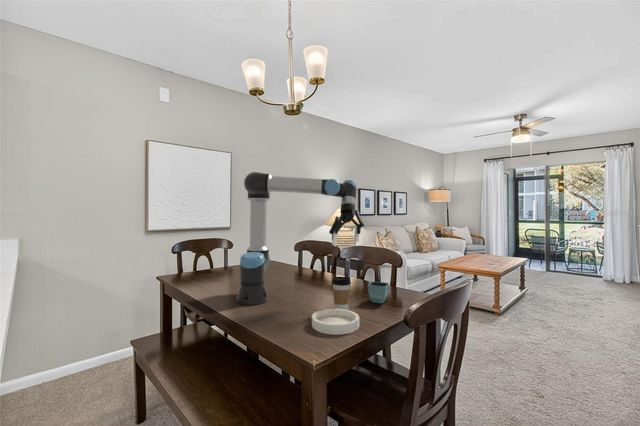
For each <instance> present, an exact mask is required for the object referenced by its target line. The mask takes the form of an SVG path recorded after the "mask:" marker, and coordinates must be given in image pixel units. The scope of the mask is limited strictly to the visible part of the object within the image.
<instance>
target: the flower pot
mask: <svg viewBox="0 0 640 426" xmlns="http://www.w3.org/2000/svg"><path fill="white" fill-rule="evenodd" d="M389 289H390V283H389V282H382V281H371V282H369V283H368V284H367V291H368V296H369V297H368V298H369V299H370V300H371V303H374V304H375V303H376V304H380V305H381V304H383V303H385V301H386V300H387V298H388V295H389Z"/></svg>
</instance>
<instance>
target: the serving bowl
mask: <svg viewBox="0 0 640 426" xmlns="http://www.w3.org/2000/svg"><path fill="white" fill-rule="evenodd" d="M360 319H361V318H360V316H359V314H358V313H356V312H354V311H352V310H349V309H348V310H345V309H335V308H325V309H321V310H318V311H315V312H314V313H313V314H311V327H312V329H314V330H315V331H316V332H319V333H322V334H324V335H325V334H326V335H332V336H333V335H336V336H338V335H347V334H352V333H354V332H356V331H358V330H359V328H360Z"/></svg>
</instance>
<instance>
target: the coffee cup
mask: <svg viewBox="0 0 640 426" xmlns="http://www.w3.org/2000/svg"><path fill="white" fill-rule="evenodd" d="M331 284H332V293H333V304H334V309H345V310H349V302H350V294H351V293H350V292H351V284H352V283H351V277H349V276H334V277H332V281H331Z"/></svg>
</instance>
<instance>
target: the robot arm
mask: <svg viewBox="0 0 640 426" xmlns="http://www.w3.org/2000/svg"><path fill="white" fill-rule="evenodd" d="M243 185H244V188H245V190H246V191H247V200H248V201H250V208H249V209H250V216H249V217H250V219H249V220H250V223H249V247H247V249H246V252H245V253H243V254H242V255H241V256H240V261H239V264H240V266H239V269H240V270H239V271H240V273H239V275H240V277H239V278H240V279H239V280H240V286H239V289H238V293H237V295H236V304H237V303H238V304H239V305H243V306H253V305H254V306H255V305H261V304H264V303H266V302H268V300H269V294H268V293H267V292H268V291H267V288H266V285H265V272H266V271H267V270H268V268H269V267H270V265H271V264H270V263H271V258H270V255H269V254H270V253H269V252H270V251H269V250H270V249H269V247H268V246H267V212H268V211H267V209H268V208H267V202H268V201H269V200H270V197H271V196H270V193H271V192H279V193H296V194H297V193H298V194H313V195H314V194H316V195H322V196H327V197H329V196H330V197H336V198H337V197H338V198H341V201H340V202H341V203H340V216H338V215H337V216H335V217H334V221H333V224H331V227H330V229H329V234H330V235H331V240H332V241H331V245H332V246H334V248H335V247H337V246H338V245H337V244H338V233H339V232H340V230H341V228H342V227H343V226H344V225H345V224H347V223H351V222H352V223H353V224H354V225H355V227H354V235H353V239H354V240H355V241H356V242H359V241H360V235H361V231H362V228H363V227H365V223H364V221H363V220H362V217H361V214H360V211H359V210H357V209H356V203H357V202H356V200H357V183H356V181H354V180H353V179H346V180H345V181H343V183H342V182H339V180H337V179H335V178H330V179H326V178H325V179H324V178H311V177H309V178H308V177H295V176H294V177H293V176H276V175H274V176H273V175H272V174H271V173H263V172H258V171H253V172H249V174H247V175H246V176H245V178H244V181H243ZM355 217H356V219H357V220H356V219H354V218H355ZM357 221H358V222H357Z"/></svg>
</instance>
